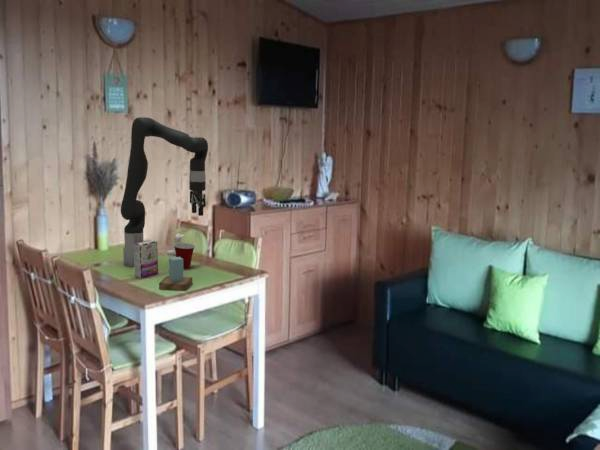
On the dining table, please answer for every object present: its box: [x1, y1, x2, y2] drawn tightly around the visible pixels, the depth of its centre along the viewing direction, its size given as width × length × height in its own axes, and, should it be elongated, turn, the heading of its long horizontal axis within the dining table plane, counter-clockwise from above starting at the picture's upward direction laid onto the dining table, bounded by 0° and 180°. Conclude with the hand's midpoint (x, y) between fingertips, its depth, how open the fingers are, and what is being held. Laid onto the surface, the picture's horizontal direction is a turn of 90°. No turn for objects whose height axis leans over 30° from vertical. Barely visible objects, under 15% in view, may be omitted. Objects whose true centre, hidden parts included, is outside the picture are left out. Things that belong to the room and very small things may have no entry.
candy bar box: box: [133, 239, 159, 279], centre depth 288 cm, size 11×5×16 cm, turn 148°
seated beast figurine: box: [166, 233, 185, 256], centre depth 333 cm, size 10×9×12 cm
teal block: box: [168, 256, 184, 282], centre depth 271 cm, size 5×5×10 cm
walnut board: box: [158, 275, 193, 292], centre depth 272 cm, size 12×12×3 cm
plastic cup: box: [173, 242, 196, 270], centre depth 305 cm, size 11×11×12 cm
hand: (197, 214), depth 286 cm, fingers open, 8 cm apart
